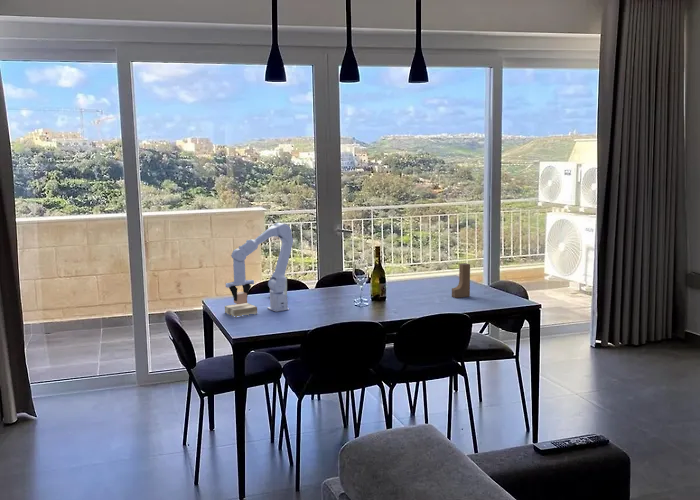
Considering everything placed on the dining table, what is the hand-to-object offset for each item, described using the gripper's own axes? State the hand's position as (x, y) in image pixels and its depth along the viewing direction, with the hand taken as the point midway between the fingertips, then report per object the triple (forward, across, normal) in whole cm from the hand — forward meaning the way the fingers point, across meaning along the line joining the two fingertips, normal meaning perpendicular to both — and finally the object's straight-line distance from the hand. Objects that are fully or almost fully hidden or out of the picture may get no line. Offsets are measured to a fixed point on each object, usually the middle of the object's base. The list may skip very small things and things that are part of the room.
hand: (240, 299), depth 336 cm
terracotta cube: (+2, 0, 0) cm, 2 cm away
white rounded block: (+7, -35, -25) cm, 44 cm away
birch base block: (+7, 0, 0) cm, 7 cm away
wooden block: (+7, -112, +40) cm, 119 cm away
